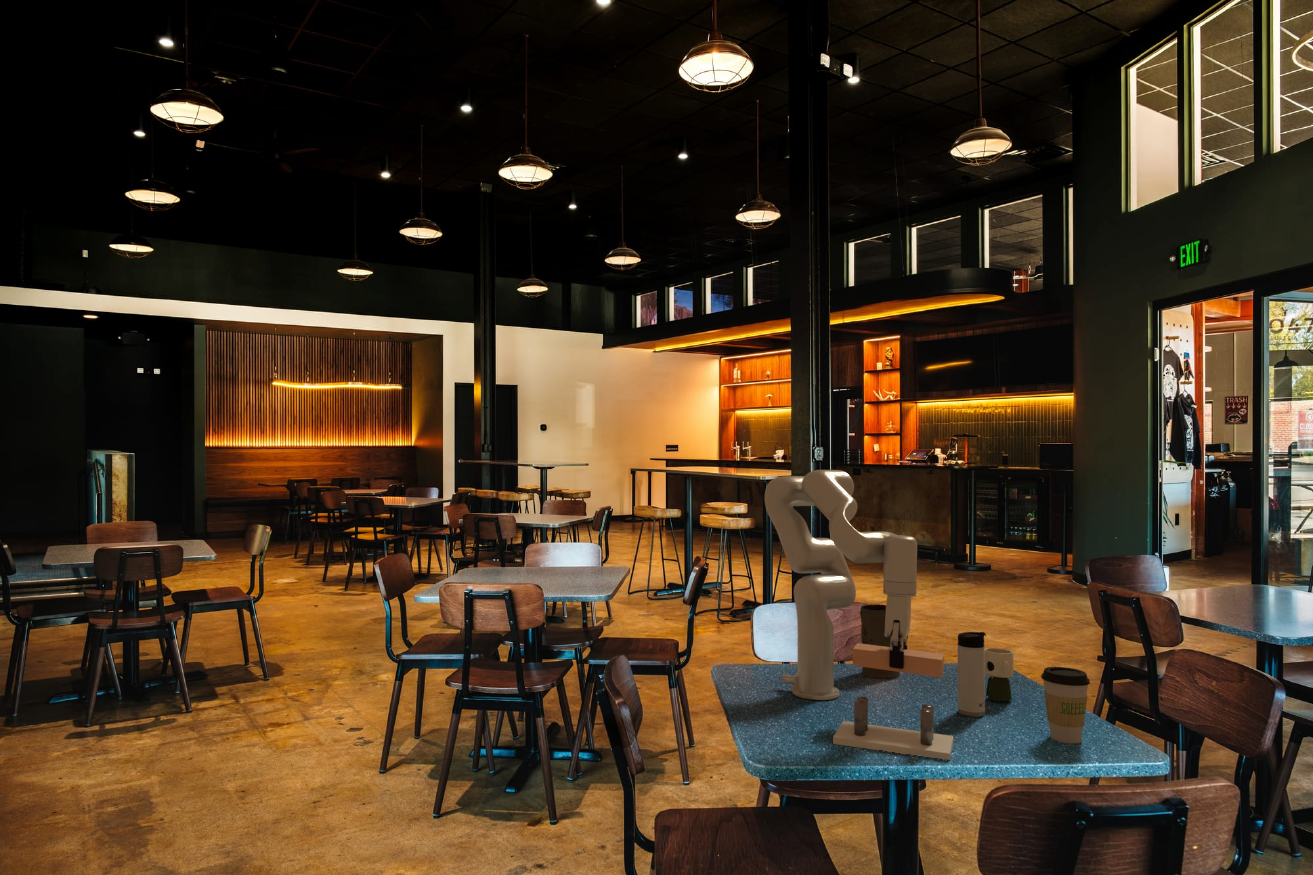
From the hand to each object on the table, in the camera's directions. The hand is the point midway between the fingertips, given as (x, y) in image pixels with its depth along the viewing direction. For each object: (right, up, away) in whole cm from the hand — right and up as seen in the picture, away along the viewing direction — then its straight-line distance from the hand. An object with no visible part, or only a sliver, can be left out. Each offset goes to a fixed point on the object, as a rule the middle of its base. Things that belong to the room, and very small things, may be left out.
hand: (898, 663), depth 187 cm
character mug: (+33, -16, +21) cm, 42 cm away
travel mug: (+21, -15, +9) cm, 28 cm away
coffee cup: (+35, -15, -9) cm, 39 cm away
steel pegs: (-5, -12, -13) cm, 19 cm away
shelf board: (0, -1, 0) cm, 1 cm away
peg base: (-5, -14, -13) cm, 20 cm away
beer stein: (+10, -17, +47) cm, 51 cm away
